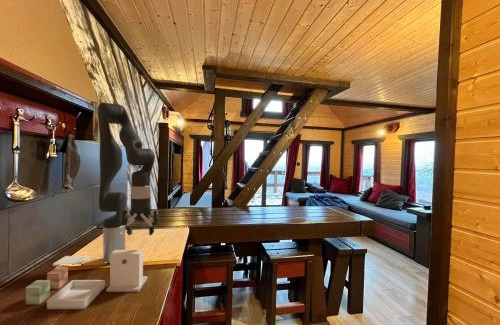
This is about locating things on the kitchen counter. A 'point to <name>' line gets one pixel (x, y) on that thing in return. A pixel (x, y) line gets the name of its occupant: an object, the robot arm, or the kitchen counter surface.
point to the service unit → (126, 271)
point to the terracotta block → (58, 277)
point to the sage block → (37, 292)
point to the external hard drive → (71, 260)
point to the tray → (76, 294)
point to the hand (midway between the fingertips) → (140, 234)
